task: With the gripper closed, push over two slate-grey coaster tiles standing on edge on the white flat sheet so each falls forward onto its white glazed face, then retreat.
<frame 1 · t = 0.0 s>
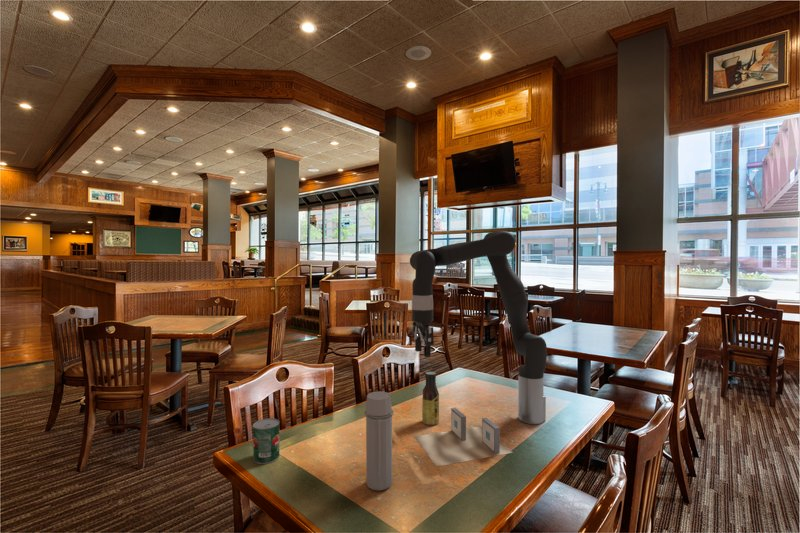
hand: (422, 353, 134), 29 cm above the table, tool pointing down, fingers open, 8 cm apart
slate tile 2: (490, 447, 124), point 1 cm above the table, touching white flat sheet
canned tomato: (266, 458, 121), on the table
white flat sheet: (461, 448, 126), on the table
slate tile 1: (458, 435, 132), point 1 cm above the table, touching white flat sheet
sauce bottle: (430, 426, 143), on the table
water bottle: (379, 487, 105), on the table
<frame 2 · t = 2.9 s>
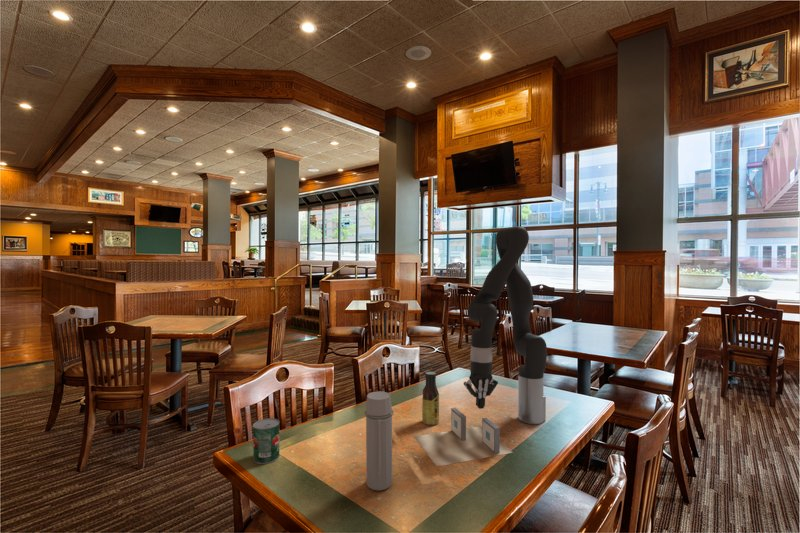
hand: (480, 407, 135), 10 cm above the table, tool pointing down, fingers closed
nothing on the table moved.
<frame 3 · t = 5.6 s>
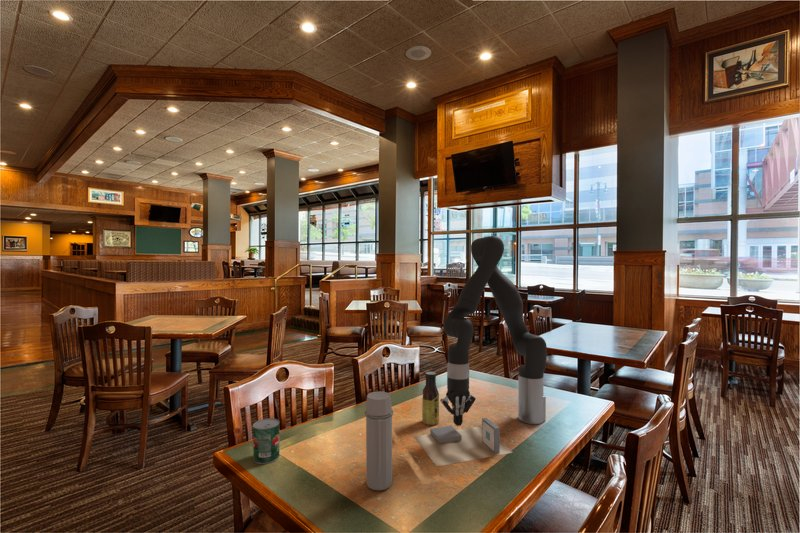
hand: (457, 424, 132), 5 cm above the table, tool pointing down, fingers closed
slate tile 1: (456, 432, 132), point 3 cm above the table, tilted 90°, touching white flat sheet
everything else where it was.
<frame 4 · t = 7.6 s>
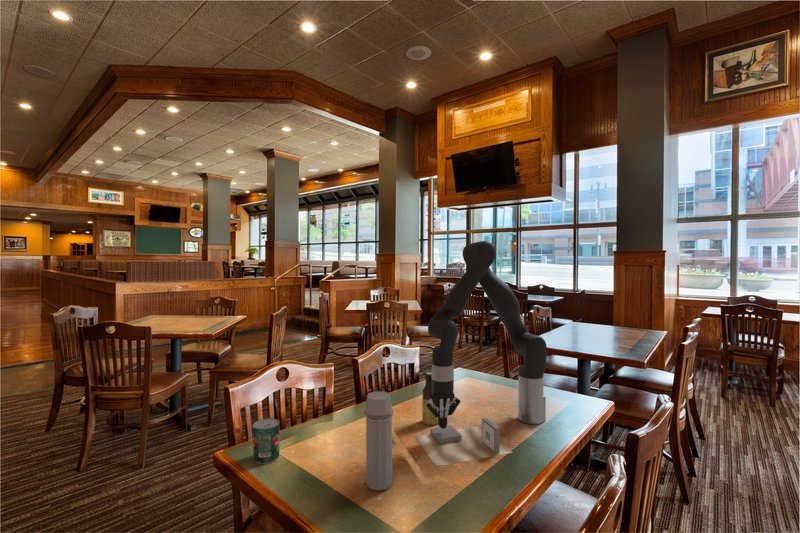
hand: (442, 427, 131), 5 cm above the table, tool pointing down, fingers closed
nothing on the table moved.
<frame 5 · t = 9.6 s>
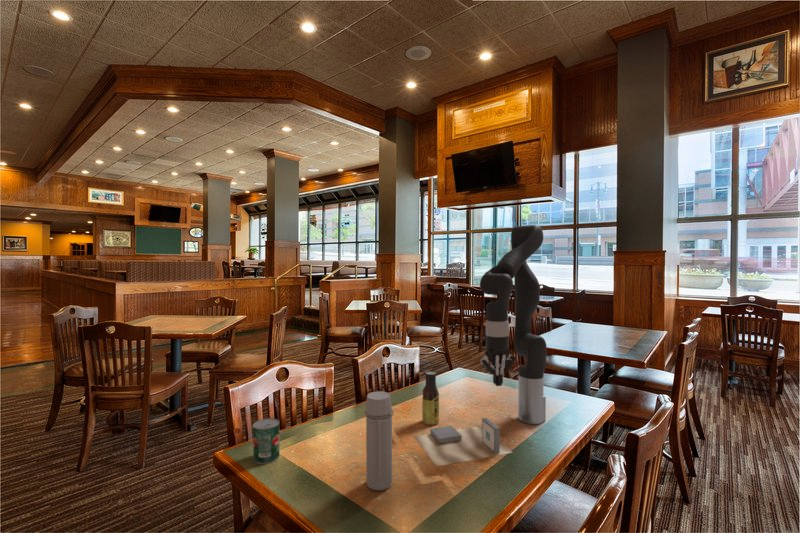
hand: (498, 385, 127), 20 cm above the table, tool pointing down, fingers closed
nothing on the table moved.
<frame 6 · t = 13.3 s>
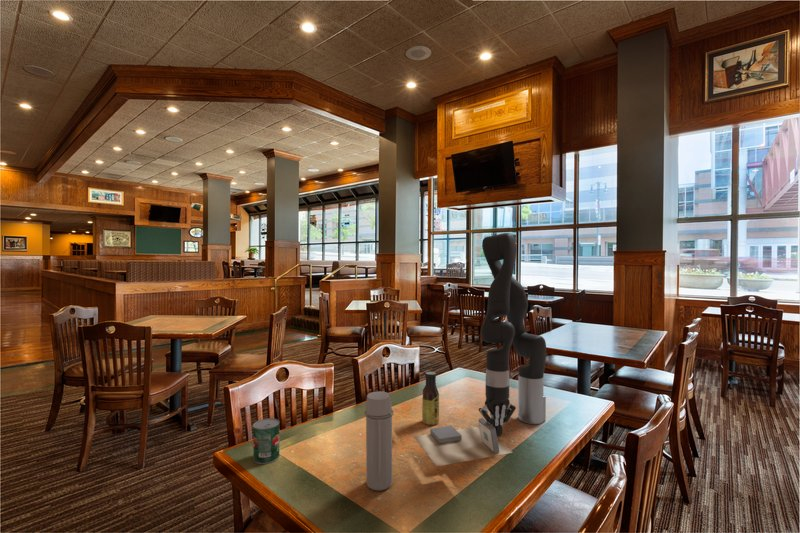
hand: (497, 435, 124), 5 cm above the table, tool pointing down, fingers closed
slate tile 2: (490, 447, 124), point 2 cm above the table, tilted 11°, touching white flat sheet
everything else where it was.
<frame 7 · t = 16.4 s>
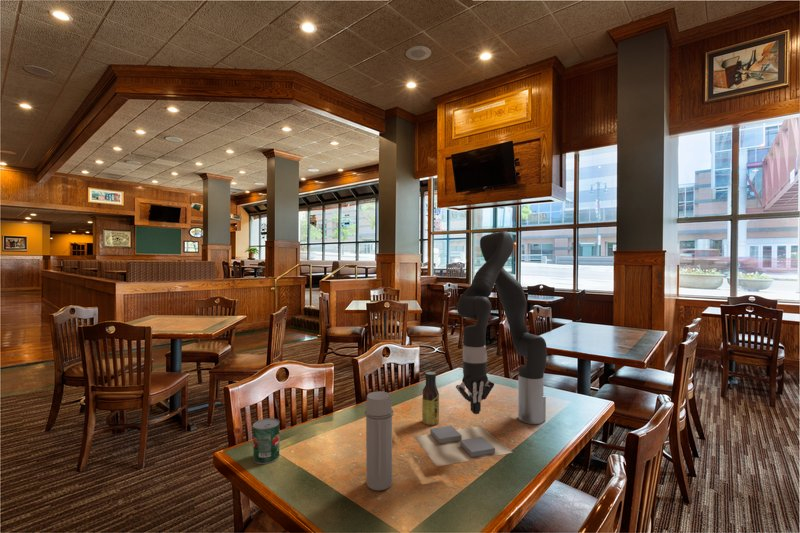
hand: (475, 413, 121), 14 cm above the table, tool pointing down, fingers closed
slate tile 2: (488, 444, 124), point 3 cm above the table, tilted 90°, touching white flat sheet
everything else where it was.
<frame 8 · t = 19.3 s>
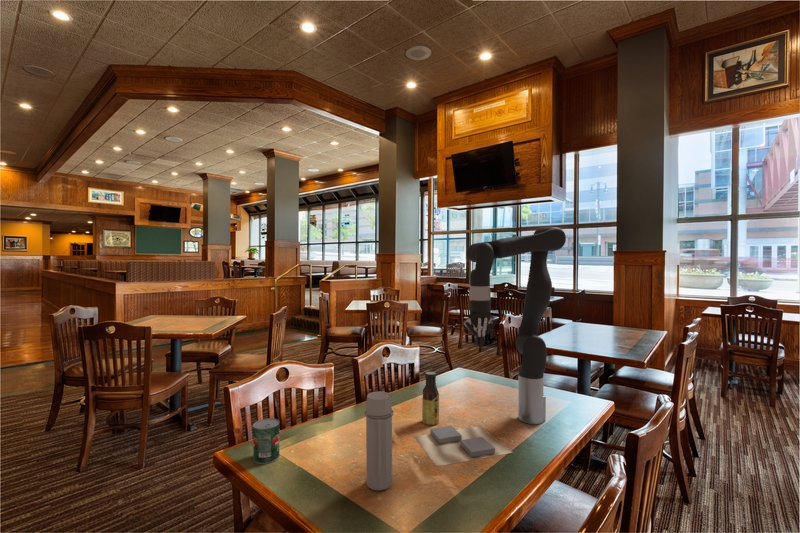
hand: (479, 346, 138), 31 cm above the table, tool pointing down, fingers closed
nothing on the table moved.
at the end: slate tile 1 tilted 90°; slate tile 2 tilted 90°; slate tile 1 inside the target area on the white flat sheet (6.1 cm from its centre), point 2.5 cm above the white flat sheet's base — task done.
